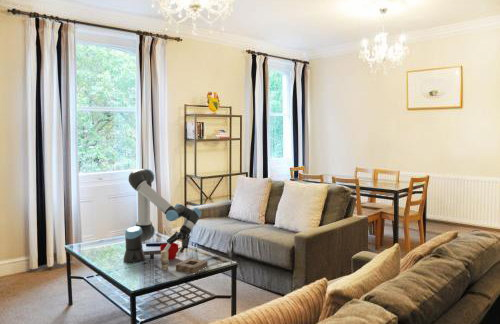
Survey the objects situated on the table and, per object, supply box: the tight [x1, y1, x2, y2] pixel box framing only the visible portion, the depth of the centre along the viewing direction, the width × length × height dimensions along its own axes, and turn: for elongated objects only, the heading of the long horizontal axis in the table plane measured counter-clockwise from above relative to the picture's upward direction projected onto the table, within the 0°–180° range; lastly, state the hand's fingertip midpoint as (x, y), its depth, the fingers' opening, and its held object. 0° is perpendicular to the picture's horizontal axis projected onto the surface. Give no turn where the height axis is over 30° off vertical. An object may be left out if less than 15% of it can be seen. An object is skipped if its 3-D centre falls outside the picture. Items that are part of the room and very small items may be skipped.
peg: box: [160, 250, 169, 271], centre depth 287 cm, size 5×5×12 cm
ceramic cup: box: [159, 242, 180, 261], centre depth 307 cm, size 13×17×10 cm
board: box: [175, 257, 209, 274], centre depth 288 cm, size 15×16×4 cm
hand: (170, 253), depth 288 cm, fingers open, 13 cm apart
